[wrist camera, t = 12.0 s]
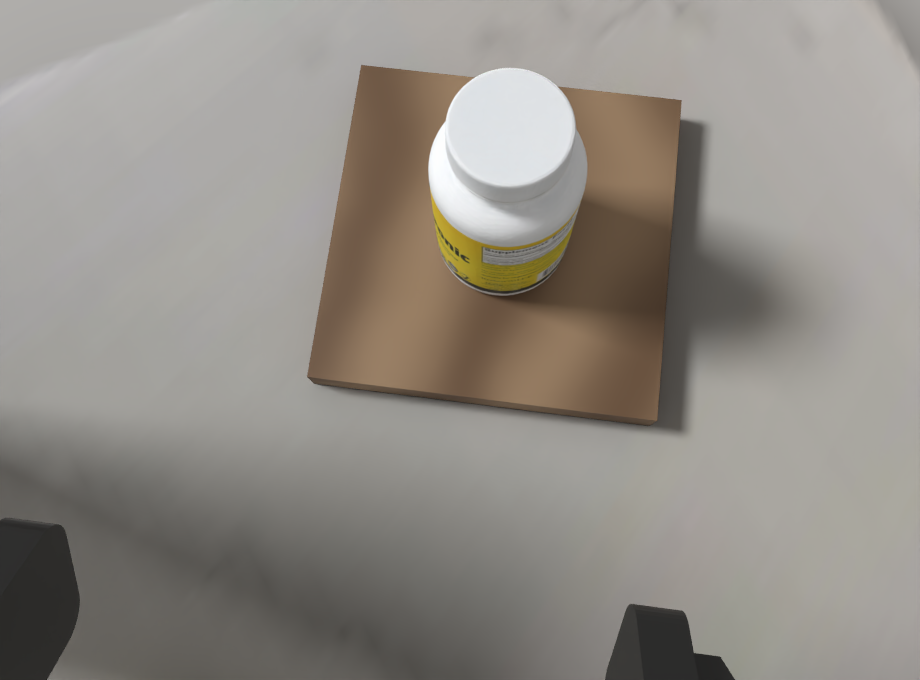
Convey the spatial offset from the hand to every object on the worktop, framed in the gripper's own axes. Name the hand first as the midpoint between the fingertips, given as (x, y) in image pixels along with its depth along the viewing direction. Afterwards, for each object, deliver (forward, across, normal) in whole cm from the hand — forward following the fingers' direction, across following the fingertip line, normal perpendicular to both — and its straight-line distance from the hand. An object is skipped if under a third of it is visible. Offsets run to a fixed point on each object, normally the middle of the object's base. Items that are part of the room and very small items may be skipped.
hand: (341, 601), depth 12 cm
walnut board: (+25, -2, +6) cm, 26 cm away
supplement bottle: (+24, -2, +5) cm, 24 cm away
